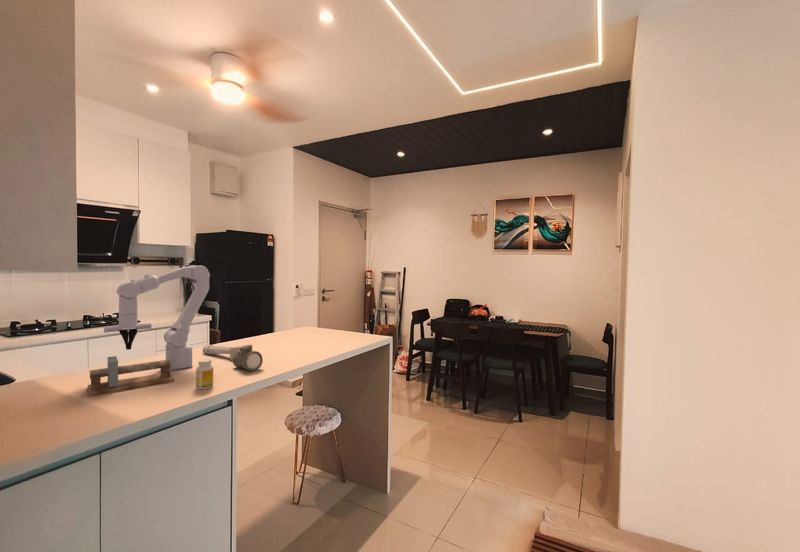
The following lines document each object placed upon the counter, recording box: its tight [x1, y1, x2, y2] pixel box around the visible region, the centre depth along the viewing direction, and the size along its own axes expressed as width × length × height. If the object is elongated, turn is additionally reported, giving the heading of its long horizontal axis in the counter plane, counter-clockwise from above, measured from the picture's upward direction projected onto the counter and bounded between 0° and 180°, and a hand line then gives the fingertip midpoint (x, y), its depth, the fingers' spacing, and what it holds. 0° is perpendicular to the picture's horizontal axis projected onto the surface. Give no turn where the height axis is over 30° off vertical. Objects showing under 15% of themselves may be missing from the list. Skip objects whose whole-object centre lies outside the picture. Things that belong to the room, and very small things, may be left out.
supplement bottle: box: [195, 358, 214, 390], centre depth 127 cm, size 5×5×10 cm
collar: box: [107, 355, 119, 388], centre depth 125 cm, size 2×9×9 cm, turn 42°
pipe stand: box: [87, 359, 175, 397], centre depth 128 cm, size 24×11×7 cm, turn 132°
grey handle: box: [202, 344, 240, 362], centre depth 168 cm, size 5×7×25 cm
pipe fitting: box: [232, 344, 263, 372], centre depth 150 cm, size 12×8×10 cm
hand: (128, 349), depth 138 cm, fingers closed
